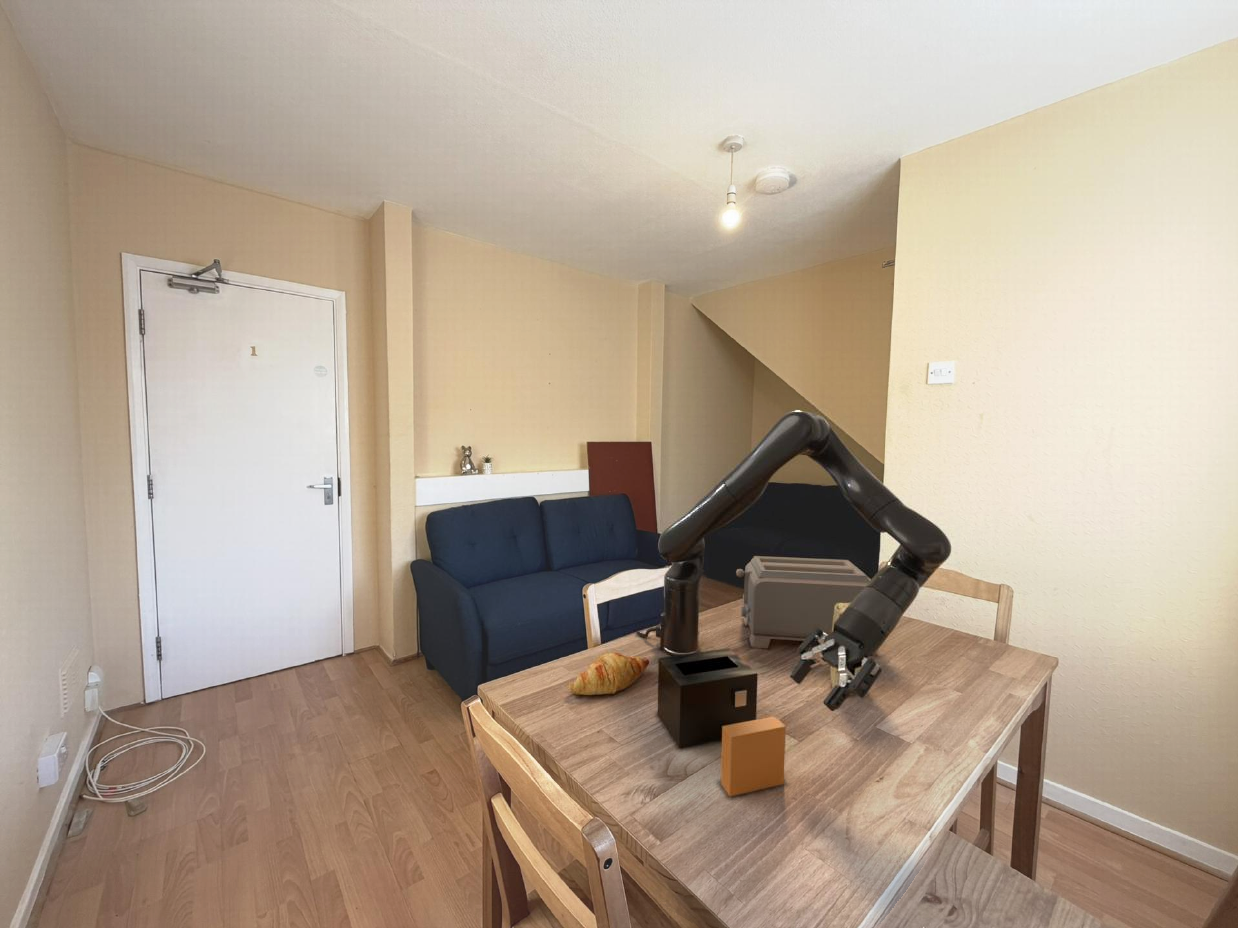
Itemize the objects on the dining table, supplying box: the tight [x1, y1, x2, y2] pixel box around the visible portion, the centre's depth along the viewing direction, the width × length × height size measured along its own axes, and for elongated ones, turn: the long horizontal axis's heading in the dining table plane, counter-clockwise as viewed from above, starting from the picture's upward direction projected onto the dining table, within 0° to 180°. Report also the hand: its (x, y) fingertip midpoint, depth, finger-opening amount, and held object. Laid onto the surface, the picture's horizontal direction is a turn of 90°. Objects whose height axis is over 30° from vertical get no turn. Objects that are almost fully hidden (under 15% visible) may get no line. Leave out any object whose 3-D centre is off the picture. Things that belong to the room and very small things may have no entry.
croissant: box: [568, 652, 650, 696], centre depth 111 cm, size 21×10×8 cm, turn 125°
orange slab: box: [720, 715, 787, 797], centre depth 80 cm, size 3×10×10 cm, turn 107°
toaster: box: [735, 555, 876, 657], centre depth 137 cm, size 19×35×20 cm, turn 82°
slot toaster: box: [657, 647, 759, 749], centre depth 95 cm, size 12×16×12 cm
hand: (810, 693), depth 82 cm, fingers open, 8 cm apart
